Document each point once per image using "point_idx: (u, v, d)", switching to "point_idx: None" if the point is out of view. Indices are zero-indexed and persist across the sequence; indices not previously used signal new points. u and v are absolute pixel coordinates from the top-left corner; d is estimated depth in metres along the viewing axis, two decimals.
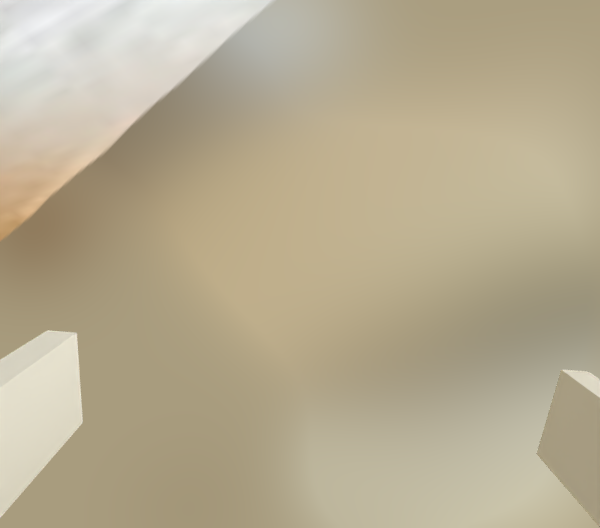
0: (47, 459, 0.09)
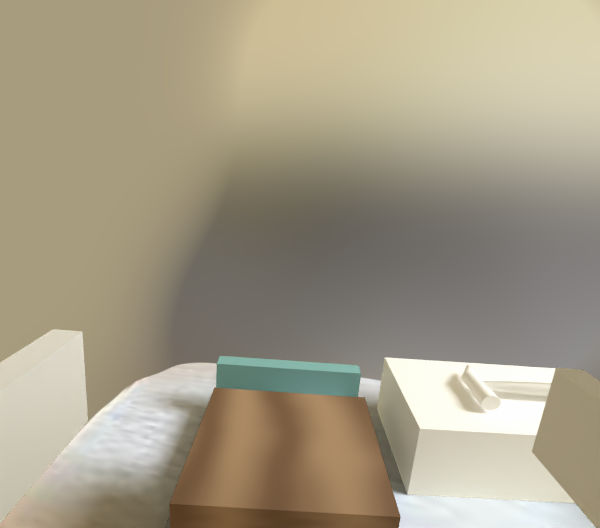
0: (53, 456, 0.09)
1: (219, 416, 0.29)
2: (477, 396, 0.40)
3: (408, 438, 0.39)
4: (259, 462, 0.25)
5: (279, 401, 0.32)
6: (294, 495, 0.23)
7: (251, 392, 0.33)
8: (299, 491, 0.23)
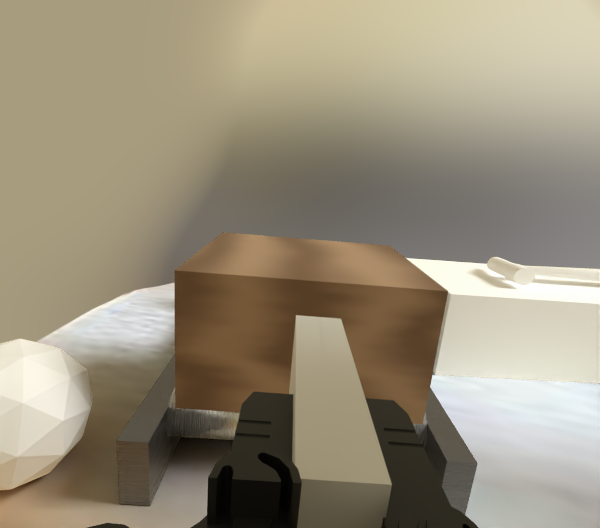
0: None
1: (229, 242, 0.26)
2: (508, 272, 0.37)
3: None
4: (278, 261, 0.22)
5: (295, 241, 0.28)
6: (320, 275, 0.19)
7: (264, 236, 0.29)
8: (326, 274, 0.20)
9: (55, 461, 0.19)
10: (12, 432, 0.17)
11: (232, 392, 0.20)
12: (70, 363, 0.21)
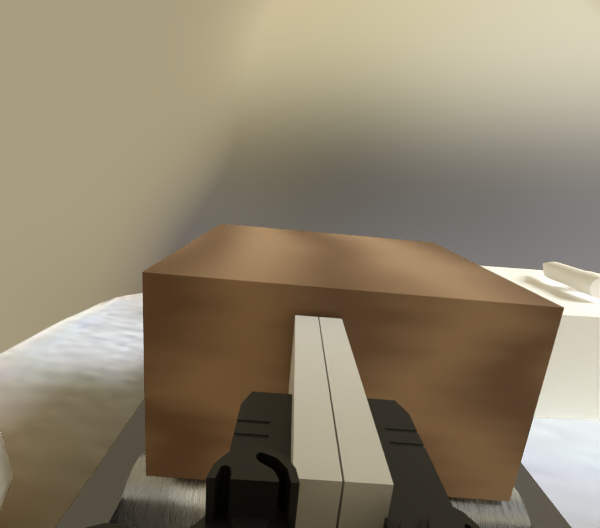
0: None
1: (228, 235, 0.19)
2: (580, 281, 0.29)
3: None
4: (297, 260, 0.15)
5: (314, 235, 0.22)
6: (365, 281, 0.13)
7: (273, 229, 0.23)
8: (373, 280, 0.13)
9: None
10: None
11: None
12: None
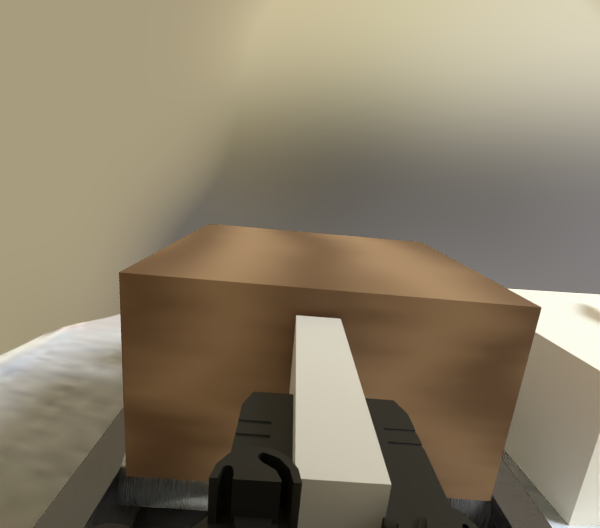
0: None
1: (215, 235, 0.19)
2: None
3: (562, 408, 0.19)
4: (279, 260, 0.15)
5: (302, 235, 0.22)
6: (343, 281, 0.13)
7: (262, 229, 0.23)
8: (352, 280, 0.13)
9: None
10: None
11: (210, 454, 0.13)
12: None
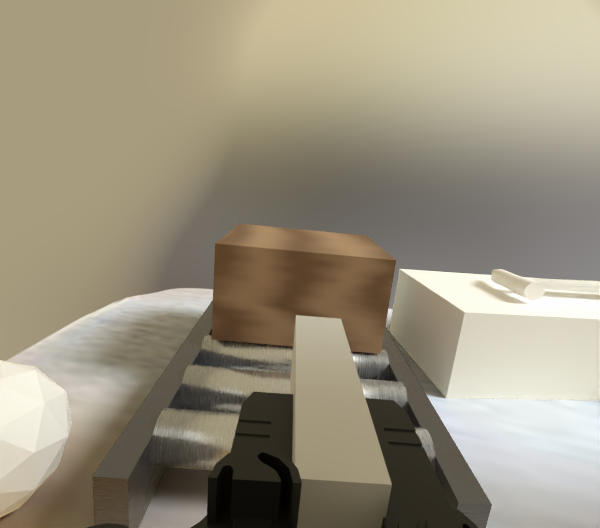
0: None
1: (246, 230, 0.35)
2: (517, 286, 0.35)
3: (445, 333, 0.33)
4: (282, 241, 0.31)
5: (295, 230, 0.38)
6: (312, 249, 0.29)
7: (271, 227, 0.39)
8: (316, 249, 0.29)
9: (25, 497, 0.17)
10: None
11: (250, 328, 0.29)
12: (46, 386, 0.19)
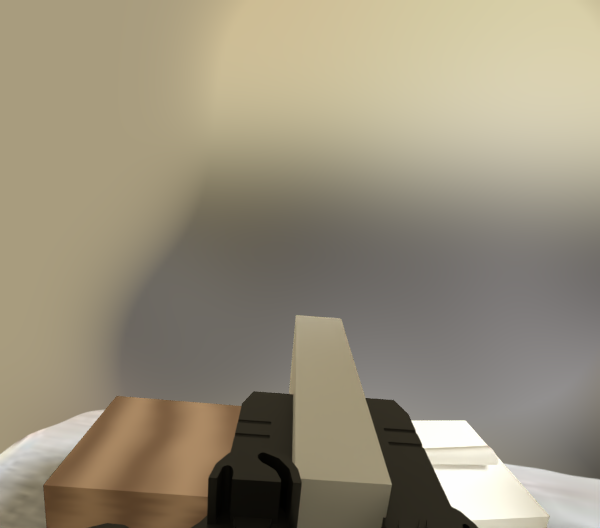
0: None
1: (110, 419, 0.36)
2: None
3: None
4: (128, 455, 0.32)
5: (166, 408, 0.39)
6: (144, 480, 0.30)
7: (147, 400, 0.40)
8: (149, 478, 0.30)
9: None
10: None
11: None
12: None
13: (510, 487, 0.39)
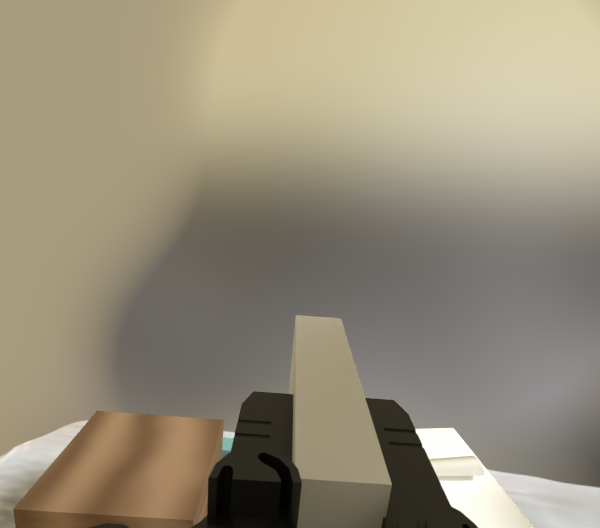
0: None
1: (88, 436, 0.36)
2: None
3: None
4: (103, 475, 0.32)
5: (147, 423, 0.38)
6: (117, 502, 0.29)
7: (127, 415, 0.39)
8: (122, 500, 0.29)
9: None
10: None
11: None
12: None
13: (496, 499, 0.38)
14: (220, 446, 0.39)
